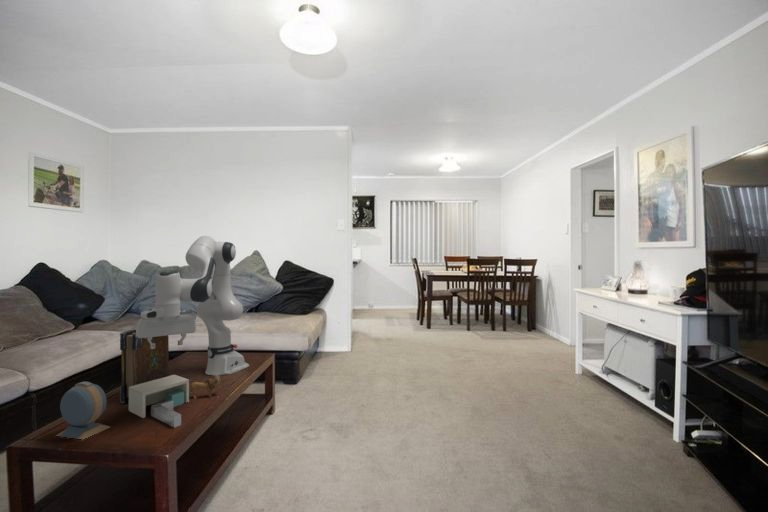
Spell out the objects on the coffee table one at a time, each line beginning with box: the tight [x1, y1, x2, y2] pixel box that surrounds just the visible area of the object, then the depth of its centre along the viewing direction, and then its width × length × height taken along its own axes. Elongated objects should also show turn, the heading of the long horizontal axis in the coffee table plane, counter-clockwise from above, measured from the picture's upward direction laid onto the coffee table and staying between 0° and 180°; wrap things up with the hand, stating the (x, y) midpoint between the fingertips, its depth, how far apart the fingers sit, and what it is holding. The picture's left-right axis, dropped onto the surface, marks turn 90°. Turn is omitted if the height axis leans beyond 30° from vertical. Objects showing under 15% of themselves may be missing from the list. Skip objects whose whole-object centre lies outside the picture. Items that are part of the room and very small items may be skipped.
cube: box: [165, 390, 185, 408], centre depth 151 cm, size 5×5×5 cm
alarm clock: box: [55, 381, 111, 441], centre depth 128 cm, size 14×10×18 cm
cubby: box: [128, 374, 190, 419], centre depth 149 cm, size 18×12×10 cm, turn 147°
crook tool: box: [150, 399, 182, 428], centre depth 138 cm, size 8×18×4 cm, turn 56°
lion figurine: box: [189, 375, 222, 400], centre depth 160 cm, size 15×5×9 cm, turn 113°
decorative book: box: [119, 329, 170, 404], centre depth 164 cm, size 23×7×30 cm, turn 177°
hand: (166, 346), depth 141 cm, fingers open, 8 cm apart
